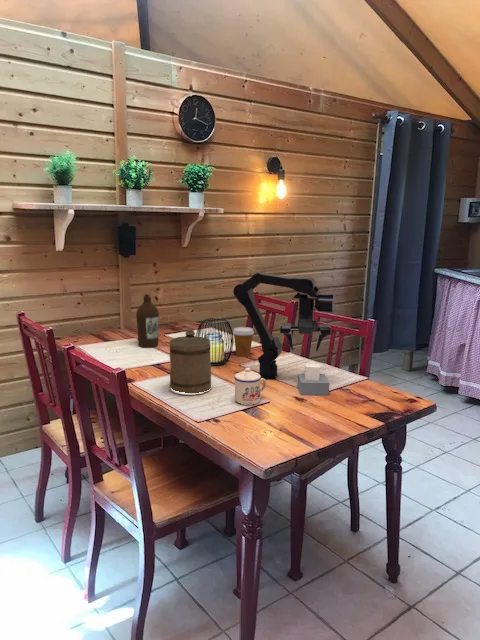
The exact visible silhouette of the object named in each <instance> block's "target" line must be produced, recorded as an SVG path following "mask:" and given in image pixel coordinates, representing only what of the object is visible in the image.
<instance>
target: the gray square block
mask: <svg viewBox="0 0 480 640" xmlns="http://www.w3.org/2000/svg"><path fill="white" fill-rule="evenodd" d="M296 383H297V389H298V391H299V394H300V396H329V395H330V380H329V379H328V378H327V376H326V374H325V373H319V381H313V380H305V373H297V381H296Z"/></svg>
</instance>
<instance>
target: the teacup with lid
mask: <svg viewBox="0 0 480 640" xmlns="http://www.w3.org/2000/svg"><path fill="white" fill-rule="evenodd" d="M262 381H263V384H262V387H261V382H262ZM266 387H267V379H264V378H261V376H260V374H259V372H255V371H253V370H252V369H251V367H245V368H244V370H242V371H240V372H237V373H235V375H234V402H236V401H237V402H238V403H241V404H240V405H242V404H247V405H246V406H253V404H254V405H256V404H258V403H260V401H261V393H262V392H264V391H265V390H266ZM237 402H236V403H237ZM238 403H237V404H238Z"/></svg>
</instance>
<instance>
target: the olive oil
mask: <svg viewBox="0 0 480 640" xmlns="http://www.w3.org/2000/svg"><path fill="white" fill-rule="evenodd" d="M135 314H136V325H137V339H138V347H141V348H143V349H144V348H146V349H148V348H149V349H151V348H156V347H158V346H159V336H160V335H159V327H160V326H159V325H160V324H159V322H160V321H159V320H160V312H159V309H158V308H157V307H156V306H155V305H154V304H153V303H152V297H151V293H144V294H143V302H142V304H140V306H139V307H138V308H137V311H136V313H135Z"/></svg>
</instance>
